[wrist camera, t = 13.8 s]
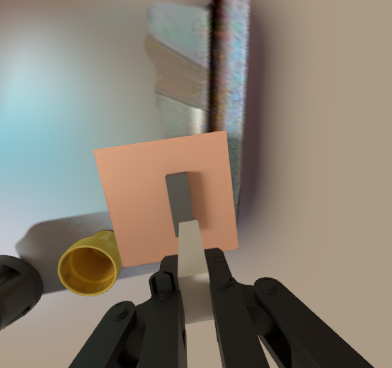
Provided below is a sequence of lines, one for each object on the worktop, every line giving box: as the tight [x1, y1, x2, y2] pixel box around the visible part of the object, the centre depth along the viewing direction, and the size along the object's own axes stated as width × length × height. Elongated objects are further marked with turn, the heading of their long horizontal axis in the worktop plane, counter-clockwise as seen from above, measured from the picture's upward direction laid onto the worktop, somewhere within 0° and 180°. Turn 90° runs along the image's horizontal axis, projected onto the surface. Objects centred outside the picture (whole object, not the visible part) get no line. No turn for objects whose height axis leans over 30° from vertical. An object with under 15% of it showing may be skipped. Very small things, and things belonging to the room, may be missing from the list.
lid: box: [93, 130, 239, 268], centre depth 30 cm, size 19×19×4 cm
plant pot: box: [58, 230, 122, 296], centre depth 40 cm, size 10×10×10 cm
